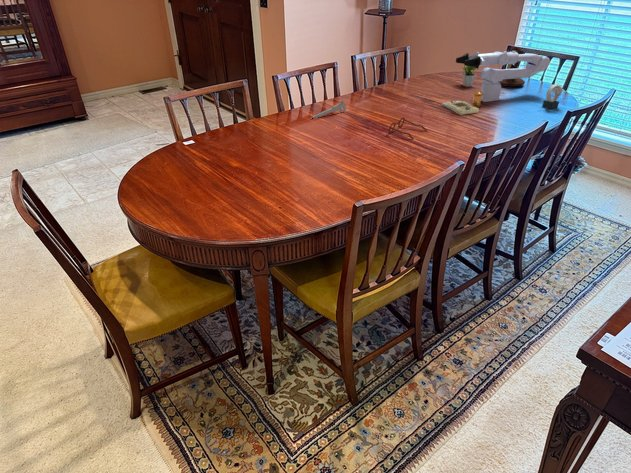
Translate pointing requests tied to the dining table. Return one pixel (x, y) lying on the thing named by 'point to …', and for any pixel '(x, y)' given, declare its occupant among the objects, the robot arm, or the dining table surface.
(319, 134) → the dining table surface
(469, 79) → the house plant
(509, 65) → the brown carved statue
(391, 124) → the glasses
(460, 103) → the pale green hollowed slab
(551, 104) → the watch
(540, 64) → the robot arm
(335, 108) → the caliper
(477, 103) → the amber jar
